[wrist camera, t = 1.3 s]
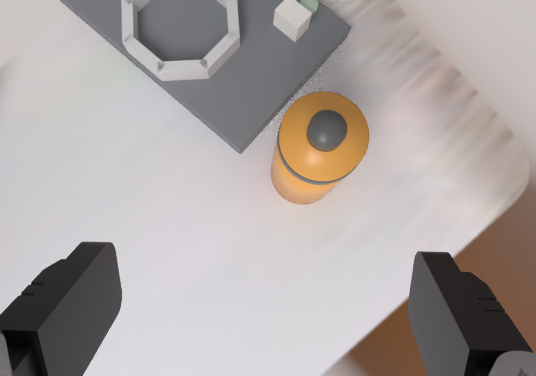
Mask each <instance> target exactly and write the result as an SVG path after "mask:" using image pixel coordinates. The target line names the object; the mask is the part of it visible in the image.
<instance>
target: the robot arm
mask: <svg viewBox="0 0 536 376" xmlns="http://www.w3.org/2000/svg"><path fill="white" fill-rule="evenodd" d="M121 301H122V289H121V283H120V276H119V270H118V263H117V257H116V251H115V247H114V245H113V244H112V243H111V242H81V243H80V244H79V245H78V246H77V247H76V248H75V250H74V251H73V252H72V253H71V254H70V255H69V256H68V257H67V258H66V259H61V260H59V261H57V262H56V263H54V264H52V265H51V266H49V267H47V268H46V269H44V270H43V271H42V272H41V273H40V274H39V275H38V276H37V277H36V278H35V279H34V280H33V281H32V282H31V285H28V286H27V287H26V288H25V290H24V291H23V292H22V293H21V296H18V297H17V298H16V299H15V300H14V301H13V302H12V303H11V304H10V305H9V306H8V307H7V308H6V309H5V310H4V311H3V313H2V314H1V315H0V376H83V374H84V372H85V371H86V369H87V367H88V365H89V364H90V362H91V360H92V359H93V357H94V355H95V353H96V352H97V350H98V348H99V346H100V345H101V343H102V341H103V339H104V338H105V336H106V334H107V333H108V331H109V329H110V327H111V326H112V324H113V322H114V320H115V319H116V317H117V315H118V313H119V310H120V307H121ZM408 315H409V322H410V326H411V329H412V332H413V335H414V338H415V340H416V343H417V346H418V349H419V352H420V354H421V357H422V360H423V363H424V366H425V368H426V371H427V374H428V376H536V354H535V353H533V351H532V350H531V348H530V347H529V345H528V344H527V342H526V341H525V340H524V338H523V336H522V335H521V334H520V332H519V331H518V329H517V328H516V326H515V325H514V323H513V322H512V321H511V319H510V317H509V316H508V315H507V314H506V313H505V310H504V309H503V307H502V306H501V304H500V303H499V302H498V301H497V299H496V297H495V296H494V294H493V293H492V291H491V290H490V288H489V287H488V285H487V284H486V283H484V282H483V281H482V280H480V279H479V278H478V277H476V276H475V275H473V274H472V273H471V272H460V270H459V268H458V267H457V265H456V264H455V262H454V260H453V258H452V257H451V255H450V254H449V253H448V252H420V251H419V252H417V253H416V255H415V259H414V266H413V273H412V280H411V287H410V294H409V301H408Z"/></svg>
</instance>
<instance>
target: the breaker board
mask: <svg viewBox="0 0 536 376" xmlns="http://www.w3.org/2000/svg"><path fill="white" fill-rule="evenodd" d="M60 1H61V2H62V3H63V4H65V5H66V6H67V7H68V8H69V9H70V10H72V11H73V12H74V13H75V14H76V15H77V16H79V17H80V18H81V19H82V20H83V21H84V22H86V23H87V24H88V25H89V26H90V27H92V28H93V29H94V30H95V31H96V32H97V33H99V34H100V35H101V36H102V37H103V38H104V39H106V40H107V41H108V42H109V43H110V44H112V45H113V46H114V47H115V48H116V49H117V50H119V51H120V52H121V53H122V54H123V55H124V56H126V57H127V58H128V59H129V60H130V61H131V62H133V63H134V64H135V65H136V66H137V67H139V68H140V69H141V70H142V71H143V72H144V73H146V74H147V75H148V76H149V77H150V78H151V79H153V80H154V81H155V82H156V83H157V84H158V85H160V86H161V87H162V88H163V89H164V90H166V91H167V92H168V93H169V94H170V95H171V96H173V97H174V98H175V99H176V100H177V101H178V102H180V103H181V104H182V105H183V106H184V107H185V108H187V109H188V110H189V111H190V112H191V113H193V114H194V115H195V116H196V117H197V118H198V119H200V120H201V121H202V122H203V123H204V124H205V125H207V126H208V127H209V128H210V129H211V130H212V131H214V132H215V133H216V134H217V135H218V136H220V137H221V138H222V139H223V140H224V141H225V142H227V143H228V144H229V145H230V146H231V147H232V148H234V149H235V150H236V151H237V152H238V153H239V154H241V153H242V152H243V151H244V150H245V149H246V147H247V146H248V145H249V144H250V143H251V142H252V141H253V140H254V139H255V138H256V136H257V135H258V134H259V133H260V132H261V131H262V130H263V129H264V128H265V127H266V125H267V124H268V123H269V122H270V121H271V120H272V119H273V118H274V117H275V115H276V114H277V113H278V112H279V111H280V110H281V109H282V108H283V107H284V106H285V104H286V103H287V102H288V101H289V100H290V99H291V98H292V97H293V96H294V95H295V93H296V92H297V91H298V90H299V89H300V88H301V87H302V86H303V85H304V84H305V82H306V81H307V80H308V79H309V78H310V77H311V76H312V75H313V74H314V73H315V71H316V70H317V69H318V68H319V67H320V66H321V65H322V64H323V63H324V61H325V60H326V59H327V58H328V57H329V56H330V55H331V54H332V53H333V52H334V50H335V49H336V48H337V47H338V46H339V45H340V44H341V43H342V42H343V41H344V39H345V38H346V37H347V35H348V33H349V31H350V28H351V27H350V26H349V25H348V24H347V23H345V22H344V21H343V20H342V19H340V18H339V17H338V16H337V15H335V14H334V13H333V12H332V11H330V10H329V9H328V8H327V7H325V6H324V5H323V4H322V3H320V2H319V1H318V0H60Z"/></svg>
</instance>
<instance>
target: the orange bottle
mask: <svg viewBox="0 0 536 376" xmlns="http://www.w3.org/2000/svg"><path fill="white" fill-rule="evenodd" d="M368 143H369V130H368V125H367V122H366V119H365V117H364V115H363V114H362V112H361V111H360V109H359V108H358V107H357V106H356V105H355V104H354V103H353V102H352V101H350V100H349V99H347V98H345V97H344V96H341V95H339V94H336V93H332V92H315V93H311V94H308V95H305V96H303V97H301V98H299V99H298V100H297V101H295V102H294V103H293V104H292V105H291V106H290V107H289V109H288V110H287V111H286V113H285V115H284V117H283V120H282V122H281V125H280V128H279V132H278V138H277V145H276V149H275V153H274V158H273V162H272V166H271V179H272V183H273V185H274V187H275V189H276V191H277V192H278V193H279V194H280V195H281V196H282V197H283V198H284V199H286V200H288V201H290V202H292V203H296V204H310V203H314V202H316V201H318V200H320V199H321V198H323V197H324V196H325V195H326V194H327V193H328V192H329V191H330V190H331V189H332V188H333V187H335V186H336V185H337V184H338V183H339V182H340V181H341V180H342V179H343V178H345V177H346V176H347V175H349V174H350V173H351V172H352V171H353V170H354V169H355V168H356V166H357V165H358V164H359V163H360V161H361V160H362V159H363V157H364V155H365V153H366V150H367V148H368Z"/></svg>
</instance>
